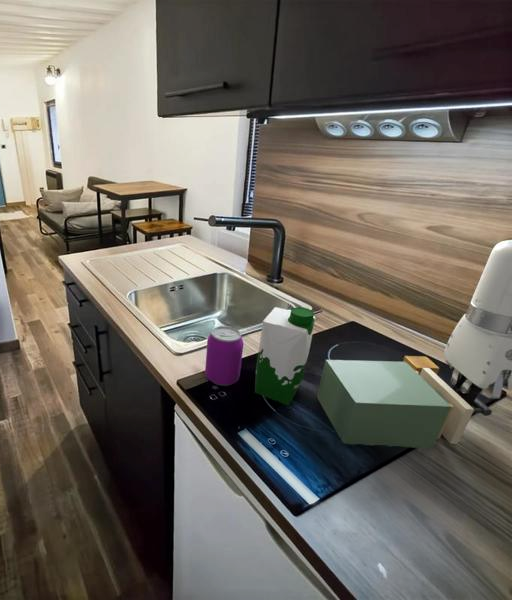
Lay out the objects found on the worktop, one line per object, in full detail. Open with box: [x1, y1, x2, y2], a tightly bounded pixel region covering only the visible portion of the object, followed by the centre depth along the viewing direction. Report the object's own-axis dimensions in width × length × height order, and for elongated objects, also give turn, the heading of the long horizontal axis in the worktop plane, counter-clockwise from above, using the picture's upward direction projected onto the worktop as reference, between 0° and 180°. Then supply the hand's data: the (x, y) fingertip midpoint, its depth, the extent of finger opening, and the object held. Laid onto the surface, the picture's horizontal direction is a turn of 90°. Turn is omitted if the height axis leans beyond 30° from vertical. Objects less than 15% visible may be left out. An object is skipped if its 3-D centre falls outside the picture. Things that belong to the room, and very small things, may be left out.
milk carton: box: [254, 306, 317, 407], centre depth 75 cm, size 9×9×20 cm
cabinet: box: [316, 359, 451, 450], centre depth 68 cm, size 15×13×10 cm
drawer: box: [416, 368, 493, 445], centre depth 67 cm, size 19×11×8 cm, turn 83°
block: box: [402, 355, 441, 376], centre depth 80 cm, size 4×4×4 cm
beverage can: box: [204, 325, 244, 387], centre depth 82 cm, size 8×8×12 cm
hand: (457, 405), depth 66 cm, fingers closed
